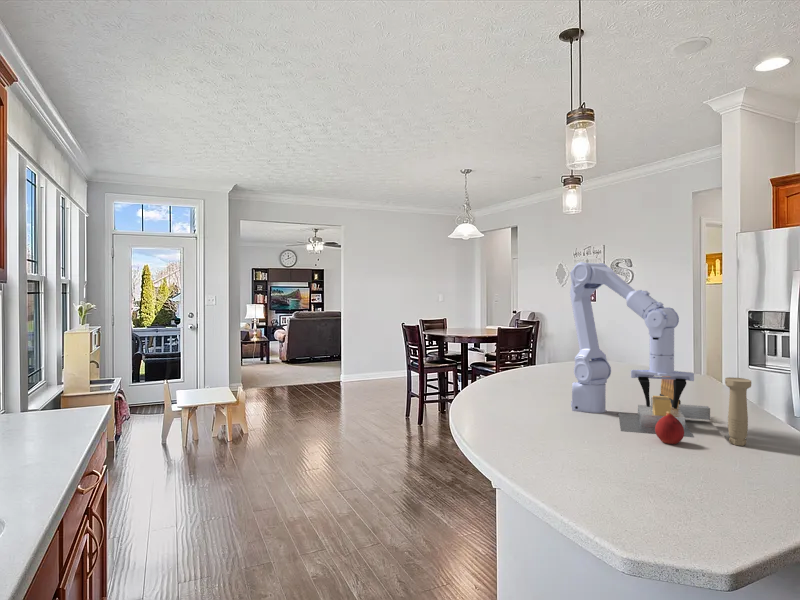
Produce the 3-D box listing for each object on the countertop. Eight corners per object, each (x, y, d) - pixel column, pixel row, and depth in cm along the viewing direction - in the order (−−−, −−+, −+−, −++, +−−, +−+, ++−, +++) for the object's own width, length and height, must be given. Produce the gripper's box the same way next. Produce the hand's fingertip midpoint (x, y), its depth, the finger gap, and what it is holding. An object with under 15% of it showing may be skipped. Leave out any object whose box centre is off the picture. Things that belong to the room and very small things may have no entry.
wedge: (654, 422, 134) (654, 399, 134) (652, 418, 139) (652, 395, 139) (670, 424, 132) (670, 400, 132) (667, 419, 138) (667, 396, 138)
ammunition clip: (680, 418, 147) (681, 376, 147) (674, 418, 147) (674, 375, 147) (665, 410, 158) (665, 370, 158) (659, 410, 158) (659, 370, 158)
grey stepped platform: (620, 435, 130) (620, 408, 130) (618, 416, 149) (618, 394, 149) (723, 444, 122) (723, 416, 122) (706, 423, 141) (707, 399, 141)
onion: (681, 444, 121) (681, 410, 121) (686, 451, 116) (686, 415, 116) (653, 442, 123) (653, 408, 123) (657, 449, 118) (657, 413, 118)
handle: (745, 441, 124) (745, 378, 124) (754, 449, 118) (754, 382, 118) (722, 439, 125) (722, 377, 125) (729, 447, 119) (729, 381, 119)
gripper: (631, 355, 135) (631, 407, 135) (696, 357, 129) (695, 412, 129) (630, 352, 141) (630, 402, 141) (691, 354, 136) (691, 406, 136)
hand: (661, 407), depth 136 cm, fingers open, 6 cm apart
